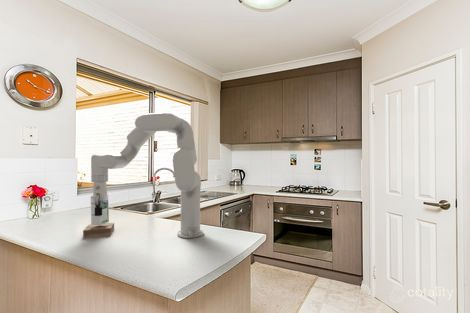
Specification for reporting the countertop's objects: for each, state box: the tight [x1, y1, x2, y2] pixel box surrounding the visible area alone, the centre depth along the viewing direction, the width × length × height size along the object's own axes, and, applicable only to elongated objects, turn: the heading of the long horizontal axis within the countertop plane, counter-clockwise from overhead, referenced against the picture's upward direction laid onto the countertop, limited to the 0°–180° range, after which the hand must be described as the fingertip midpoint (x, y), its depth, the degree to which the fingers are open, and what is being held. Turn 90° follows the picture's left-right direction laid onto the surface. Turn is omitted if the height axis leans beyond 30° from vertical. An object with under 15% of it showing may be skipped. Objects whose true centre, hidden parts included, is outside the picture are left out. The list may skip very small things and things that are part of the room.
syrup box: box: [90, 193, 110, 225], centre depth 130 cm, size 6×6×14 cm
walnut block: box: [82, 222, 115, 239], centre depth 130 cm, size 12×12×4 cm
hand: (99, 213), depth 130 cm, fingers closed on syrup box, 7 cm apart
